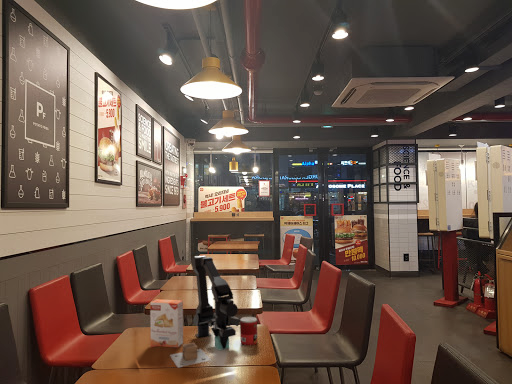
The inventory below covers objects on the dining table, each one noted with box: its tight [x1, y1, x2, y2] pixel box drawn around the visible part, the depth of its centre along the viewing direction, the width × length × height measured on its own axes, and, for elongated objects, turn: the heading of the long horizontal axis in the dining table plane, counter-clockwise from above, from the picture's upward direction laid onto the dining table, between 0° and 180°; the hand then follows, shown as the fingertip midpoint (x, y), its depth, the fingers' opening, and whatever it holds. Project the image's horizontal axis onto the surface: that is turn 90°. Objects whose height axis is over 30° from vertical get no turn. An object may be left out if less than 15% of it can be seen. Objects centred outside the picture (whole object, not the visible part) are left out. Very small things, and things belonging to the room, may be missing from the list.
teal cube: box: [214, 336, 230, 351], centre depth 164 cm, size 5×5×5 cm
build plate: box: [169, 348, 212, 369], centre depth 153 cm, size 14×14×1 cm
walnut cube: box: [181, 342, 198, 361], centre depth 153 cm, size 5×5×5 cm
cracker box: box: [149, 298, 184, 348], centre depth 169 cm, size 14×6×21 cm, turn 76°
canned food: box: [239, 316, 258, 346], centre depth 171 cm, size 8×8×11 cm
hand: (221, 346), depth 164 cm, fingers closed on teal cube, 5 cm apart
